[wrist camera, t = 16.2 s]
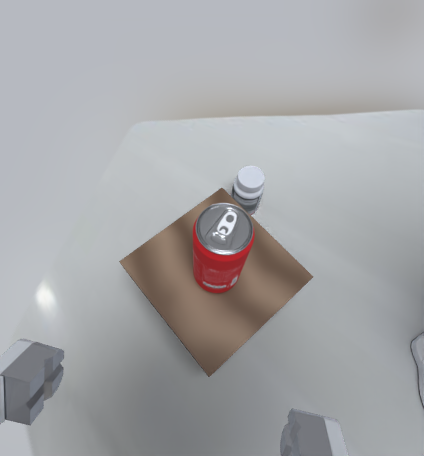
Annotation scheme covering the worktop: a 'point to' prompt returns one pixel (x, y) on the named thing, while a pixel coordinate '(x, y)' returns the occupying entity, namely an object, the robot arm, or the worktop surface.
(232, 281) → the beverage can
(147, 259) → the walnut stool
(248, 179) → the pill bottle
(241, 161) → the worktop surface
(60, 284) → the worktop surface
